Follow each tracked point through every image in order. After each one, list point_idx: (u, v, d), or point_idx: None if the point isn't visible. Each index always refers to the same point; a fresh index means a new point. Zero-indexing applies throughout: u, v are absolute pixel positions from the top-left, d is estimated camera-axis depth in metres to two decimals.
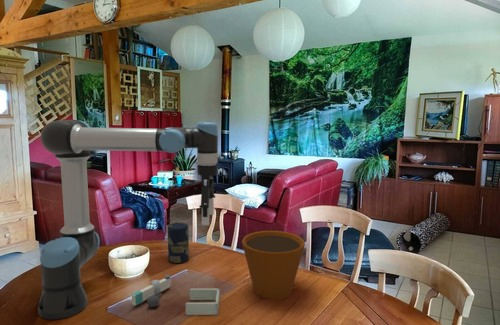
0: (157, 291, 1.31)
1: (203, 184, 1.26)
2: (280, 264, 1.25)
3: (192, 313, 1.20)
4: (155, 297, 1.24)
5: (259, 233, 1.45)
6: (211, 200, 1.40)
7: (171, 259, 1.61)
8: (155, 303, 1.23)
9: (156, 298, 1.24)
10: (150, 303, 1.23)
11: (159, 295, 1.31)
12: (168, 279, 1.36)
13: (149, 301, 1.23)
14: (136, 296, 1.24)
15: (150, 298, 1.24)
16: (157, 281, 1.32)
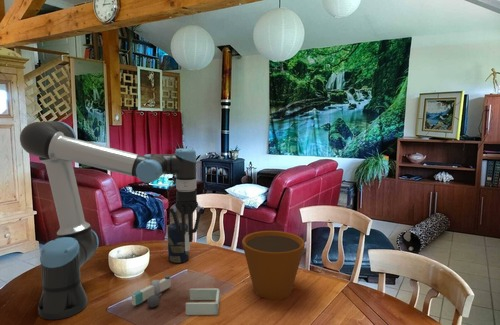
0: (157, 291, 1.31)
1: None
2: (280, 264, 1.25)
3: (192, 313, 1.20)
4: (155, 297, 1.24)
5: (259, 233, 1.45)
6: None
7: (171, 259, 1.61)
8: (155, 303, 1.23)
9: (156, 298, 1.24)
10: (150, 303, 1.23)
11: (159, 295, 1.31)
12: (168, 279, 1.36)
13: (149, 301, 1.23)
14: (136, 296, 1.24)
15: (150, 298, 1.24)
16: (157, 281, 1.32)
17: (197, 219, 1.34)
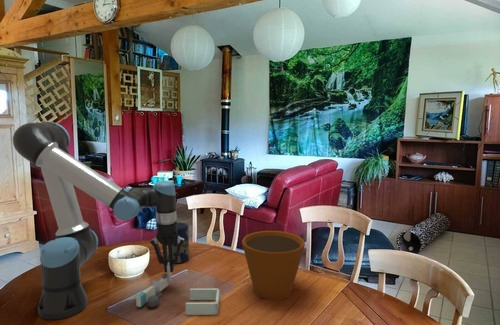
0: (158, 291, 1.31)
1: None
2: (280, 264, 1.25)
3: (192, 313, 1.20)
4: (155, 297, 1.24)
5: (259, 233, 1.45)
6: None
7: None
8: (155, 303, 1.23)
9: (156, 298, 1.24)
10: (150, 303, 1.23)
11: (159, 295, 1.31)
12: (166, 278, 1.37)
13: (149, 301, 1.23)
14: (141, 297, 1.23)
15: (150, 298, 1.24)
16: (157, 281, 1.32)
17: (178, 250, 1.36)
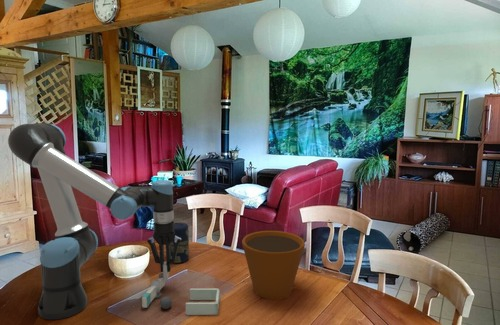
0: (158, 290, 1.32)
1: None
2: (280, 264, 1.25)
3: (192, 313, 1.20)
4: None
5: (259, 233, 1.45)
6: None
7: None
8: (161, 306, 1.23)
9: None
10: (163, 306, 1.22)
11: (159, 295, 1.31)
12: (163, 277, 1.38)
13: (166, 306, 1.22)
14: (147, 298, 1.23)
15: (168, 307, 1.23)
16: (157, 281, 1.32)
17: (175, 250, 1.36)
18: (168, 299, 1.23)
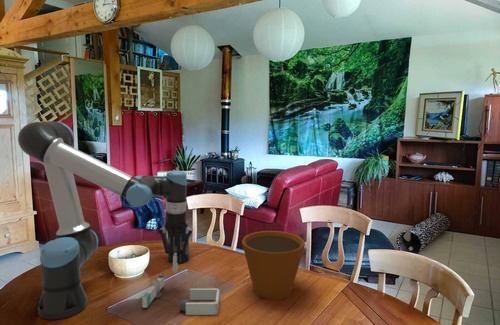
0: (158, 290, 1.32)
1: None
2: (280, 264, 1.25)
3: (192, 313, 1.20)
4: (186, 300, 1.22)
5: (259, 233, 1.45)
6: None
7: None
8: None
9: (187, 301, 1.22)
10: (183, 307, 1.21)
11: (159, 295, 1.31)
12: (163, 277, 1.38)
13: (181, 305, 1.21)
14: (147, 298, 1.23)
15: (181, 302, 1.22)
16: (157, 281, 1.32)
17: (186, 241, 1.35)
18: None
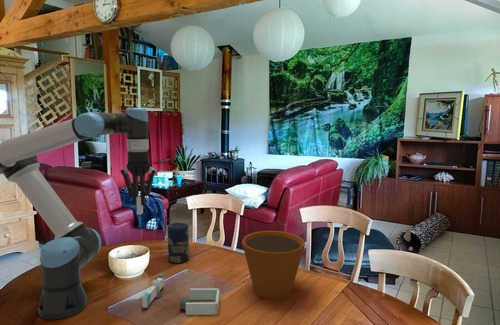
0: (158, 290, 1.32)
1: None
2: (280, 264, 1.25)
3: (192, 313, 1.20)
4: None
5: (259, 233, 1.45)
6: None
7: (171, 259, 1.61)
8: (188, 302, 1.22)
9: (188, 298, 1.24)
10: (183, 303, 1.22)
11: (159, 295, 1.31)
12: (163, 277, 1.38)
13: (181, 302, 1.22)
14: (147, 298, 1.23)
15: (182, 299, 1.23)
16: (157, 281, 1.32)
17: (149, 181, 1.30)
18: None
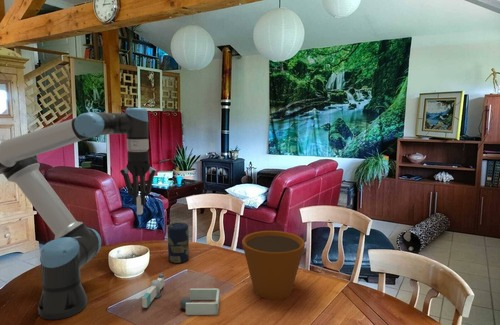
0: (158, 290, 1.32)
1: None
2: (280, 264, 1.25)
3: (192, 313, 1.20)
4: (187, 297, 1.25)
5: (259, 233, 1.45)
6: None
7: (171, 259, 1.61)
8: (188, 300, 1.23)
9: (188, 297, 1.25)
10: (183, 301, 1.23)
11: (159, 295, 1.31)
12: (163, 277, 1.38)
13: (182, 300, 1.23)
14: (147, 298, 1.23)
15: (182, 298, 1.24)
16: (157, 281, 1.32)
17: (149, 181, 1.30)
18: (180, 305, 1.24)
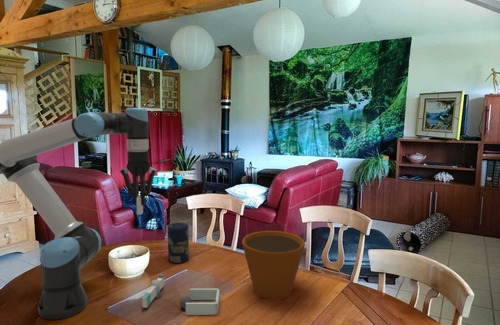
0: (158, 290, 1.32)
1: None
2: (280, 264, 1.25)
3: (192, 313, 1.20)
4: None
5: (259, 233, 1.45)
6: None
7: (171, 259, 1.61)
8: (188, 299, 1.24)
9: None
10: (183, 299, 1.23)
11: (159, 295, 1.31)
12: (163, 277, 1.38)
13: (182, 299, 1.24)
14: (147, 298, 1.23)
15: None
16: (157, 281, 1.32)
17: (149, 181, 1.30)
18: None
